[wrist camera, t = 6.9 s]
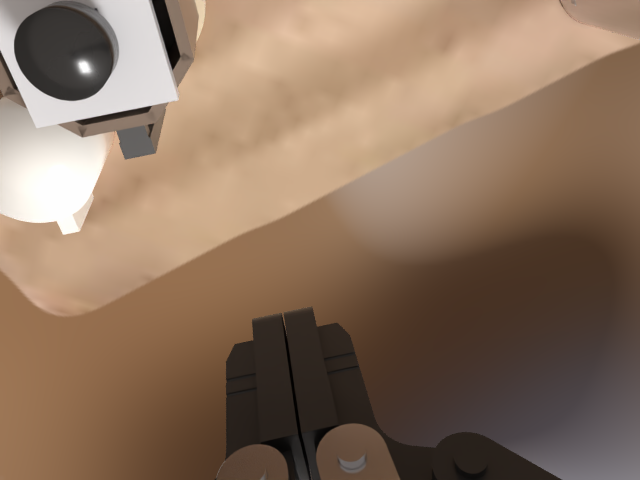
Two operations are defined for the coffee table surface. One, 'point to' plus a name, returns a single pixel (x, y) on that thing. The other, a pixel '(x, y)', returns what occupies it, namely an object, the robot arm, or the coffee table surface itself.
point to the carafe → (128, 76)
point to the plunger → (66, 50)
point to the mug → (47, 169)
